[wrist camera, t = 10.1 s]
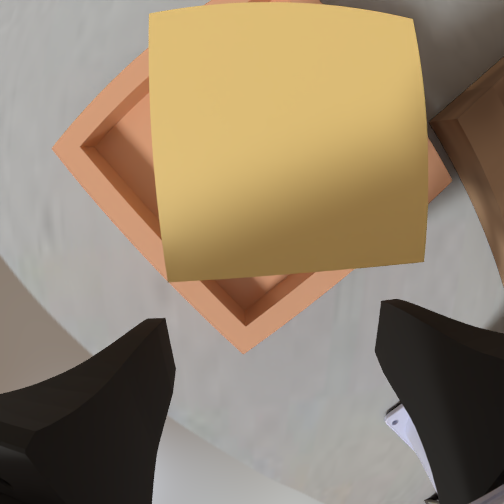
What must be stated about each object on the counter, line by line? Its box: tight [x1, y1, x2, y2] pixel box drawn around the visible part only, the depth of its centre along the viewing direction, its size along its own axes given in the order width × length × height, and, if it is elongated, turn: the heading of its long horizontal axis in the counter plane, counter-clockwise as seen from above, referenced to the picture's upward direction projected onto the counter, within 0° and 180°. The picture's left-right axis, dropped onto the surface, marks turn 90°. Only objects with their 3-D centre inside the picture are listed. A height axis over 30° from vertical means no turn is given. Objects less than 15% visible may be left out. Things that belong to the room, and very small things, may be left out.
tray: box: [52, 0, 452, 354], centre depth 12 cm, size 12×12×2 cm
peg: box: [149, 2, 428, 282], centre depth 8 cm, size 4×4×9 cm
